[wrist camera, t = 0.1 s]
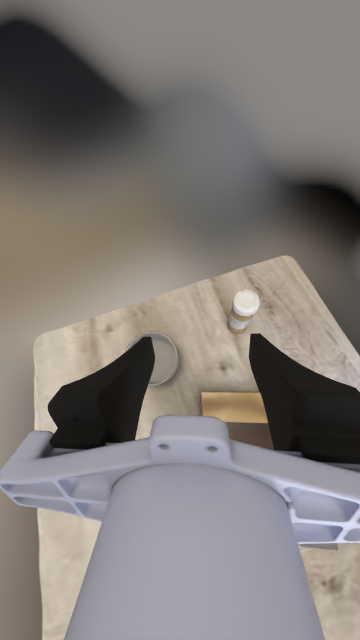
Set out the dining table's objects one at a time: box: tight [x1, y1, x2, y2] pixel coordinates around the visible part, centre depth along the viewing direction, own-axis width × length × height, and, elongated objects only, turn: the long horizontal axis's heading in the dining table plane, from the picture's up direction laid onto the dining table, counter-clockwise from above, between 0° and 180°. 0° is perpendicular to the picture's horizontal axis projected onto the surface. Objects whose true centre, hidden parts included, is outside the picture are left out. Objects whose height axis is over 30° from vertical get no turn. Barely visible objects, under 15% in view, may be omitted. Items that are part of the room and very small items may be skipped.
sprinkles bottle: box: [228, 290, 260, 334], centre depth 42 cm, size 5×5×14 cm
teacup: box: [126, 331, 179, 386], centre depth 43 cm, size 14×11×8 cm
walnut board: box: [200, 392, 274, 450], centre depth 39 cm, size 14×22×2 cm, turn 89°
